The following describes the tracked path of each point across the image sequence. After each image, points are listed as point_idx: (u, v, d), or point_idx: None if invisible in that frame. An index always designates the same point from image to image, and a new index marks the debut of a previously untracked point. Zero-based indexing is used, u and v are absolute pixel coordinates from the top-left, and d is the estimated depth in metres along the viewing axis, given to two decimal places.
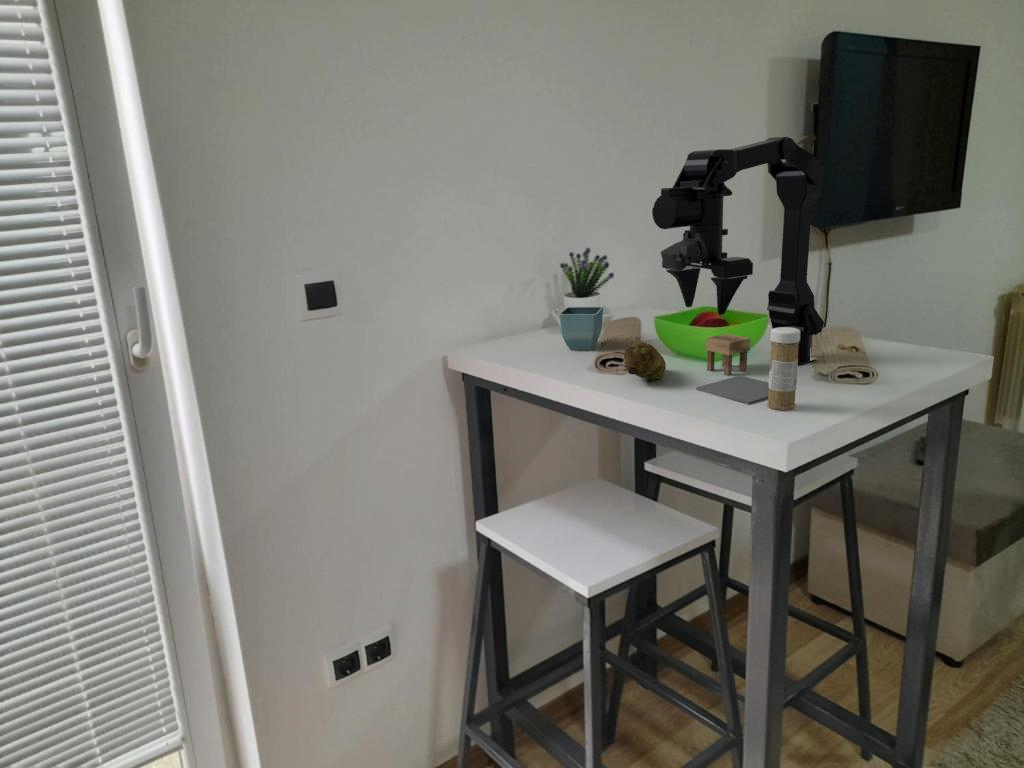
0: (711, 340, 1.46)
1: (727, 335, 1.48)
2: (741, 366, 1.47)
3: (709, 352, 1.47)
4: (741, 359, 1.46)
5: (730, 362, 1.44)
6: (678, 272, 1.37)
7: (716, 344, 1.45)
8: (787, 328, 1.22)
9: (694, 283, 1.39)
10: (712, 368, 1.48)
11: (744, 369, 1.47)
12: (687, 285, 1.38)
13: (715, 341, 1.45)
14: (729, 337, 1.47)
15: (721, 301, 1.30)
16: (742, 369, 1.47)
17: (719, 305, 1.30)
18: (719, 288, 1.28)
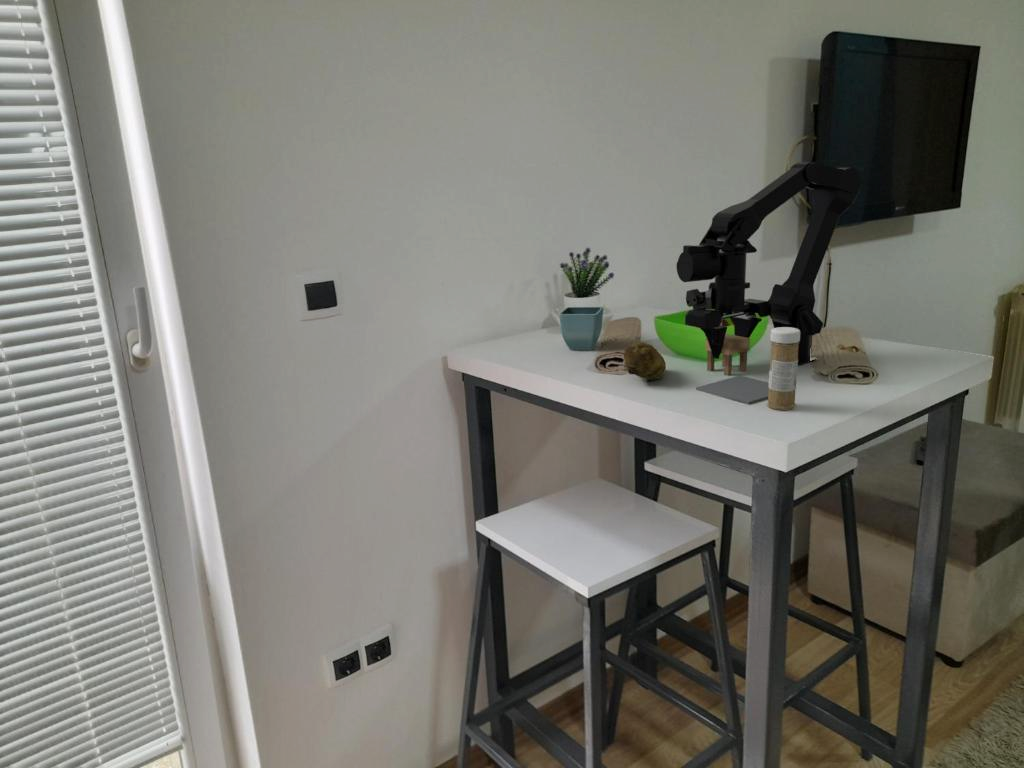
0: None
1: (727, 335, 1.48)
2: (741, 366, 1.47)
3: (709, 352, 1.47)
4: (741, 359, 1.46)
5: (730, 362, 1.44)
6: (732, 318, 1.49)
7: None
8: (787, 328, 1.22)
9: (745, 333, 1.46)
10: (712, 368, 1.48)
11: (744, 369, 1.47)
12: (738, 332, 1.48)
13: None
14: (729, 337, 1.47)
15: (710, 345, 1.45)
16: (742, 369, 1.47)
17: (711, 349, 1.45)
18: None
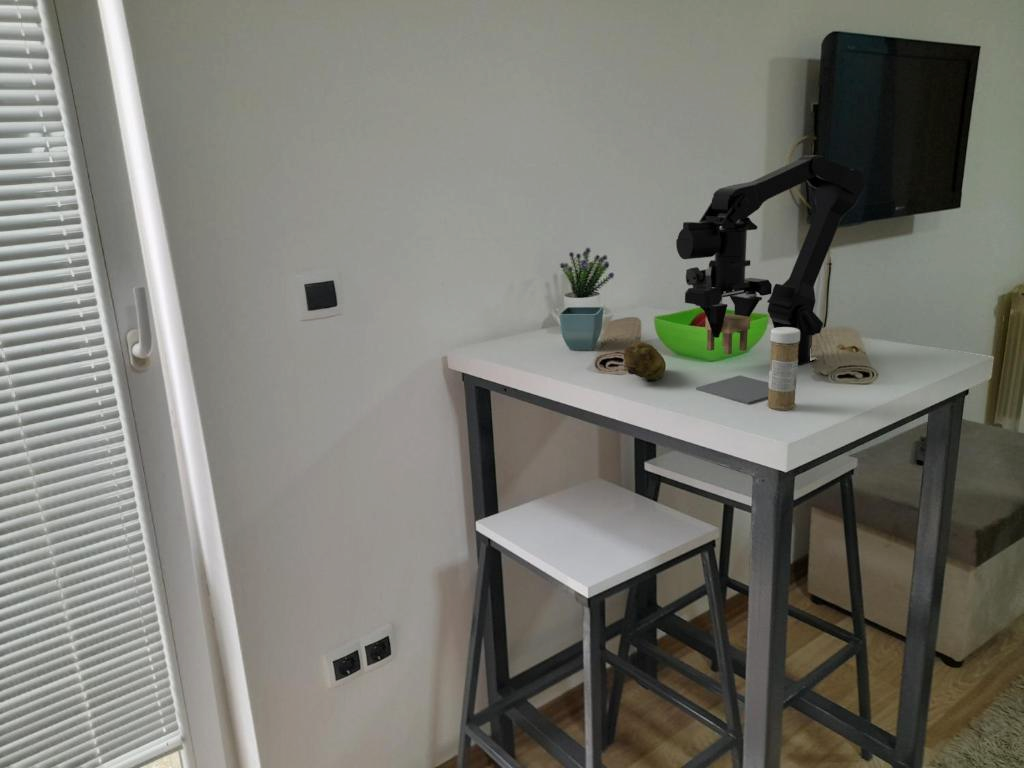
0: None
1: (727, 314, 1.47)
2: (741, 345, 1.45)
3: (709, 331, 1.46)
4: (741, 338, 1.45)
5: (730, 341, 1.43)
6: (733, 297, 1.47)
7: None
8: (787, 328, 1.22)
9: (745, 311, 1.45)
10: (712, 347, 1.47)
11: (744, 348, 1.45)
12: (738, 311, 1.46)
13: None
14: (729, 316, 1.45)
15: (710, 324, 1.43)
16: (742, 348, 1.45)
17: (711, 328, 1.44)
18: None
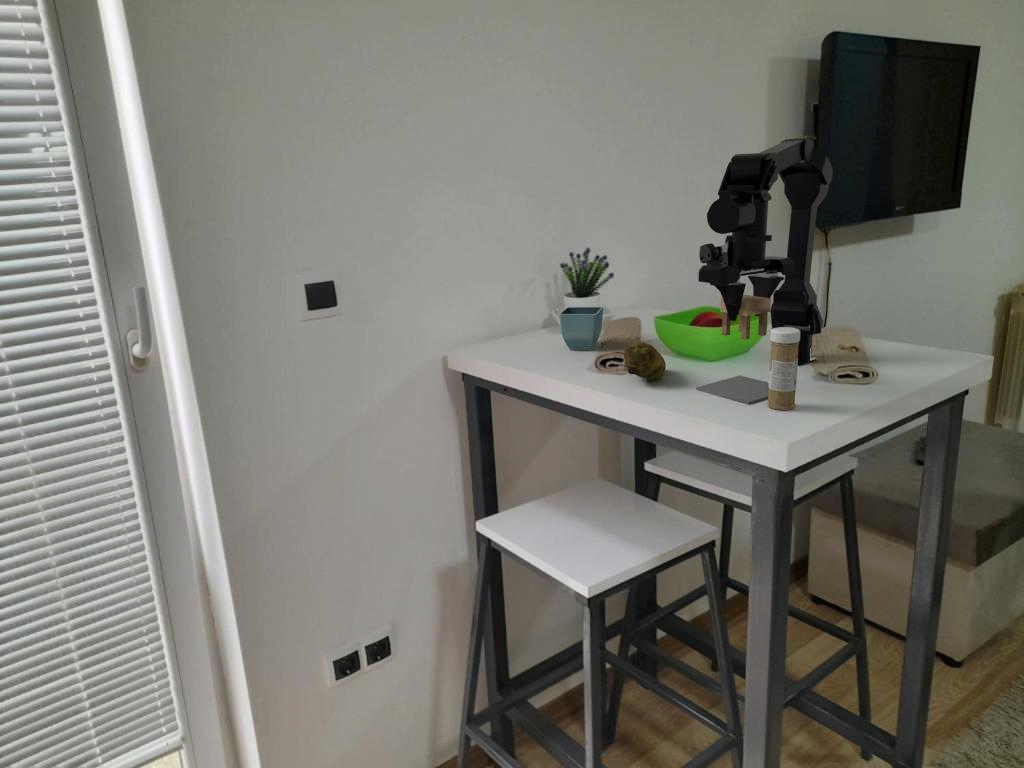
0: None
1: (745, 296, 1.33)
2: (760, 330, 1.31)
3: (724, 314, 1.32)
4: (760, 322, 1.31)
5: (748, 324, 1.28)
6: (751, 277, 1.33)
7: None
8: (787, 328, 1.22)
9: (766, 293, 1.31)
10: (728, 332, 1.32)
11: (764, 333, 1.31)
12: (757, 293, 1.32)
13: None
14: (747, 297, 1.31)
15: (726, 306, 1.29)
16: (761, 333, 1.31)
17: (727, 310, 1.30)
18: None
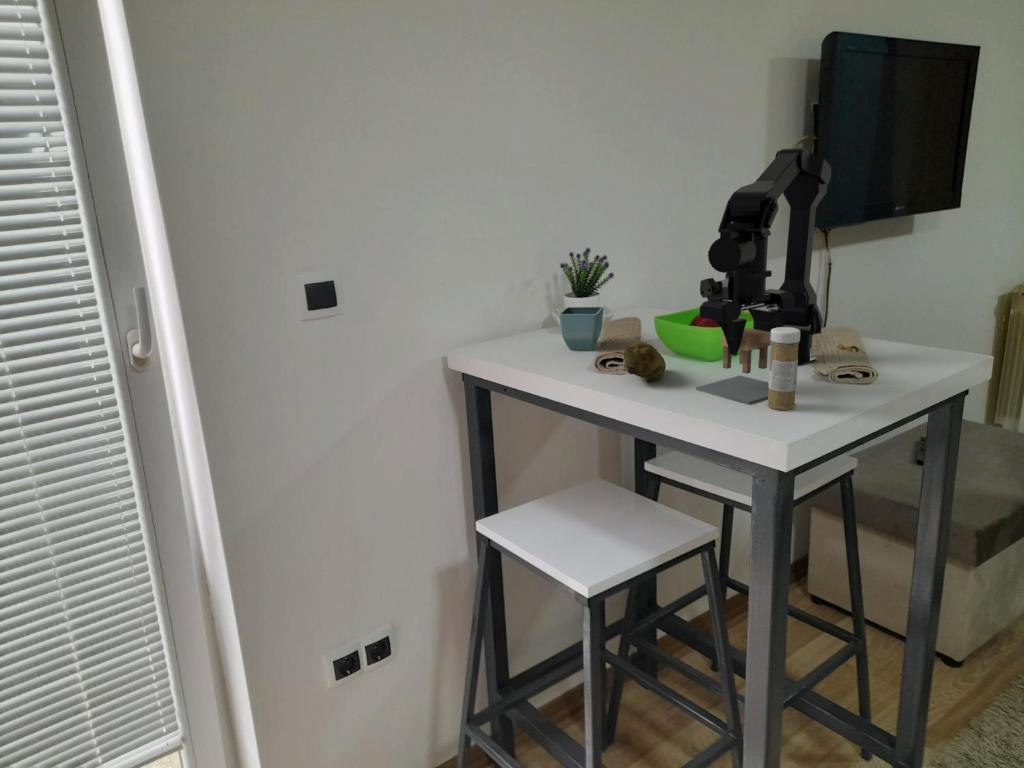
0: None
1: (745, 329, 1.34)
2: (761, 363, 1.33)
3: (725, 348, 1.33)
4: (761, 356, 1.32)
5: (749, 359, 1.30)
6: (751, 310, 1.34)
7: None
8: (787, 328, 1.22)
9: (766, 326, 1.32)
10: (729, 365, 1.34)
11: (764, 366, 1.32)
12: (757, 326, 1.34)
13: None
14: (748, 331, 1.32)
15: (727, 340, 1.31)
16: (762, 366, 1.32)
17: (728, 344, 1.31)
18: None
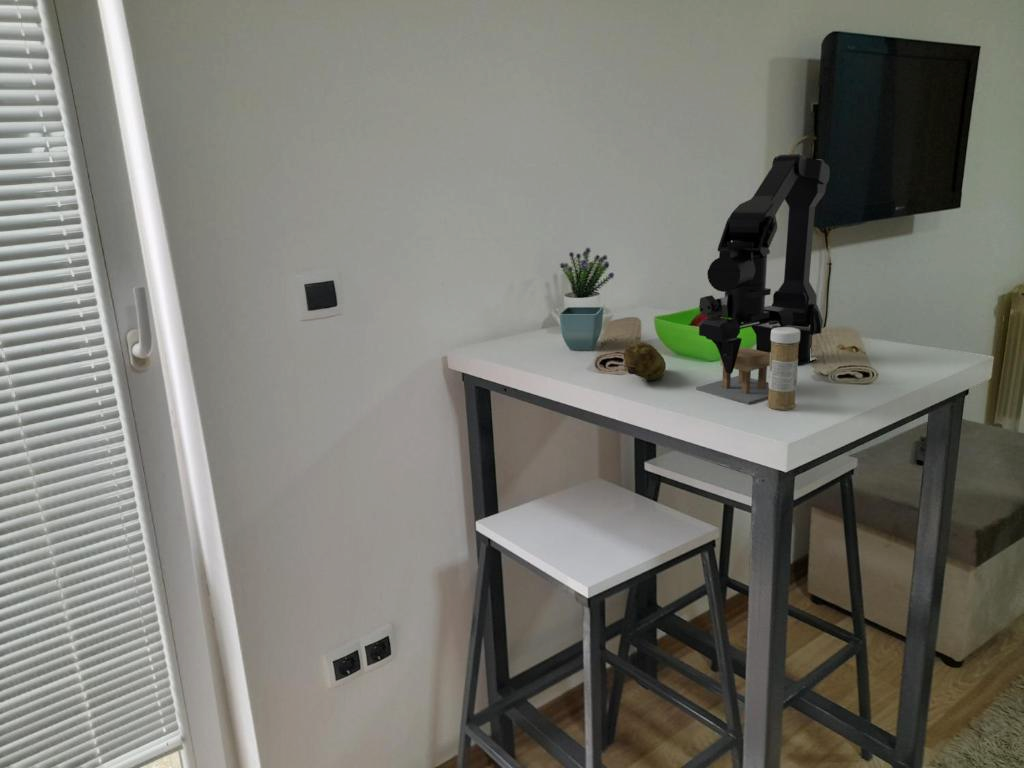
0: None
1: (744, 349, 1.35)
2: (760, 383, 1.34)
3: None
4: (760, 376, 1.33)
5: (748, 379, 1.31)
6: (754, 327, 1.36)
7: None
8: (787, 328, 1.22)
9: (768, 343, 1.34)
10: (728, 385, 1.35)
11: (763, 386, 1.34)
12: (760, 342, 1.35)
13: None
14: (747, 351, 1.33)
15: (722, 359, 1.31)
16: (761, 386, 1.33)
17: None
18: None
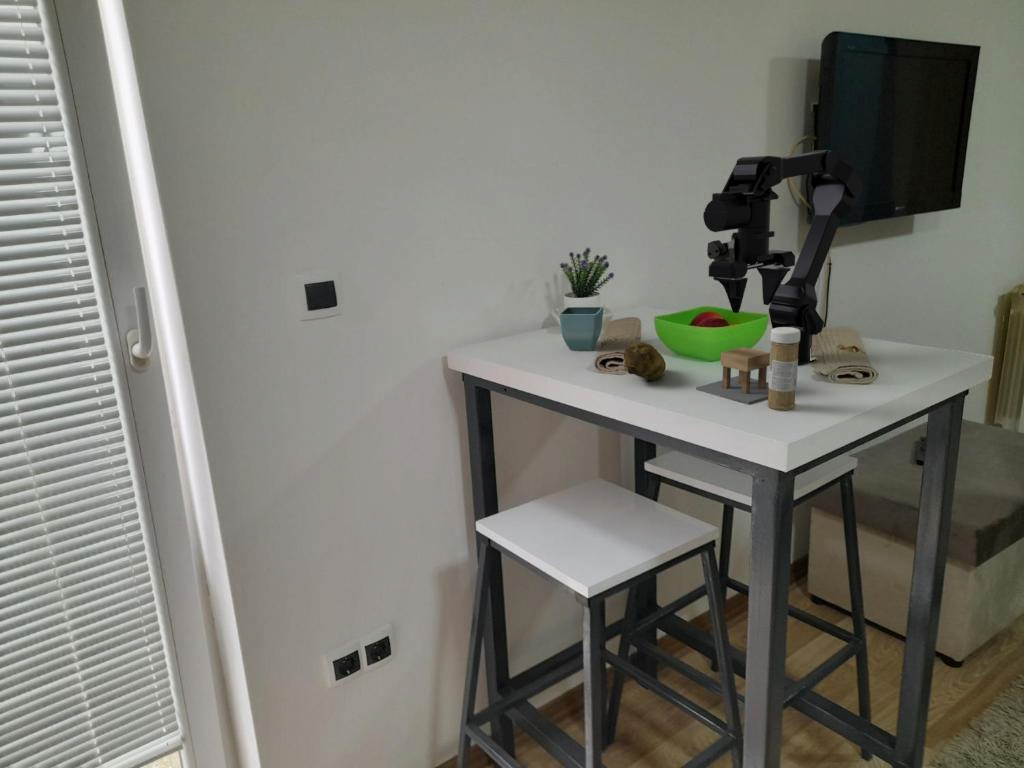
0: (727, 355, 1.33)
1: (744, 349, 1.35)
2: (760, 383, 1.34)
3: (725, 368, 1.34)
4: (760, 376, 1.33)
5: (748, 379, 1.31)
6: (760, 269, 1.45)
7: (733, 359, 1.32)
8: (787, 328, 1.22)
9: (774, 283, 1.43)
10: (728, 385, 1.35)
11: (763, 386, 1.34)
12: (766, 283, 1.44)
13: (732, 356, 1.32)
14: (747, 351, 1.33)
15: (729, 299, 1.39)
16: (761, 386, 1.33)
17: None
18: None
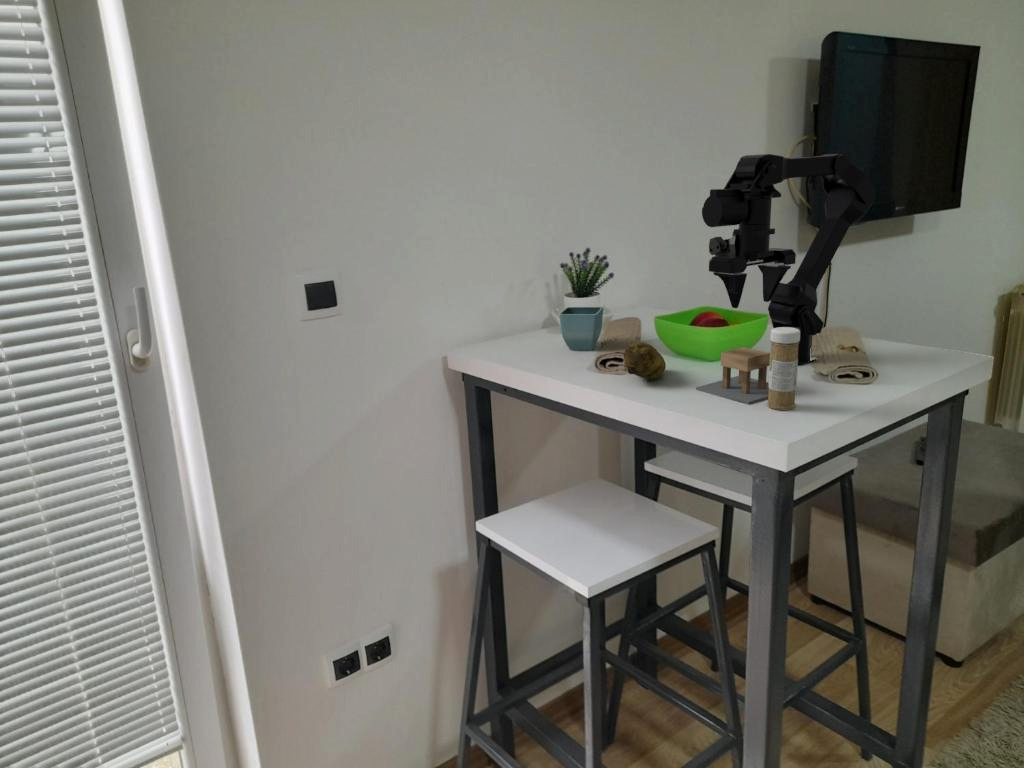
0: (727, 355, 1.33)
1: (744, 349, 1.35)
2: (760, 383, 1.34)
3: (725, 368, 1.34)
4: (760, 376, 1.33)
5: (748, 379, 1.31)
6: (761, 266, 1.47)
7: (733, 359, 1.32)
8: (787, 328, 1.22)
9: (774, 280, 1.45)
10: (728, 385, 1.35)
11: (763, 386, 1.34)
12: (766, 280, 1.46)
13: (732, 356, 1.32)
14: (747, 351, 1.33)
15: (729, 294, 1.42)
16: (761, 386, 1.33)
17: None
18: None
